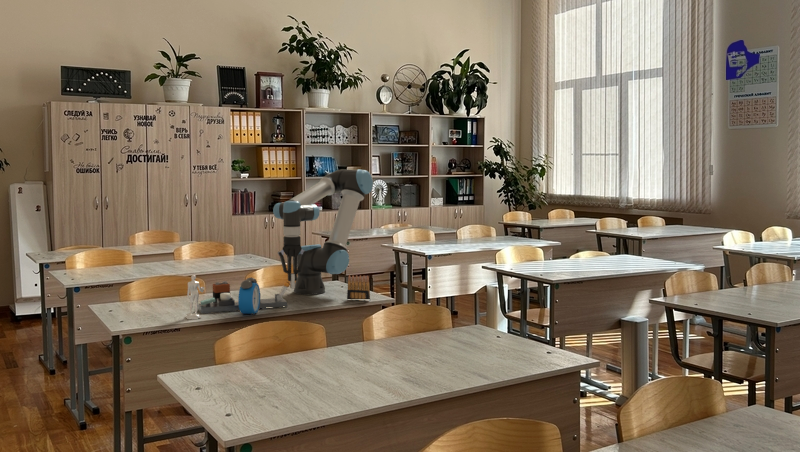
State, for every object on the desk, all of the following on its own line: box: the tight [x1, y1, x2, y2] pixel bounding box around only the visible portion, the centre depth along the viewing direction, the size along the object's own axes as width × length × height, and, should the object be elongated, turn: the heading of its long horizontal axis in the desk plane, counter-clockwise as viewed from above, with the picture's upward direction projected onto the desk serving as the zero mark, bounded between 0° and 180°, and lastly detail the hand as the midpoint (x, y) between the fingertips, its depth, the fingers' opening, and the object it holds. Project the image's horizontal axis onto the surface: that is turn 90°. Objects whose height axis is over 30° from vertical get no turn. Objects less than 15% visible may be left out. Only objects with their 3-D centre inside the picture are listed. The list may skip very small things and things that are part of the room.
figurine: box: [184, 274, 205, 320], centre depth 304 cm, size 8×7×18 cm
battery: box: [212, 280, 231, 303], centre depth 332 cm, size 4×7×10 cm, turn 121°
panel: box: [198, 293, 288, 314], centre depth 323 cm, size 37×9×5 cm, turn 111°
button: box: [220, 292, 232, 301], centre depth 320 cm, size 4×4×3 cm
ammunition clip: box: [346, 274, 371, 300], centre depth 340 cm, size 11×2×12 cm, turn 76°
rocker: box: [199, 297, 216, 305], centre depth 317 cm, size 6×3×1 cm, turn 111°
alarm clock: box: [237, 277, 261, 315], centre depth 312 cm, size 13×6×15 cm, turn 176°
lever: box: [278, 281, 290, 298], centre depth 329 cm, size 3×3×8 cm
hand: (292, 288), depth 330 cm, fingers closed
